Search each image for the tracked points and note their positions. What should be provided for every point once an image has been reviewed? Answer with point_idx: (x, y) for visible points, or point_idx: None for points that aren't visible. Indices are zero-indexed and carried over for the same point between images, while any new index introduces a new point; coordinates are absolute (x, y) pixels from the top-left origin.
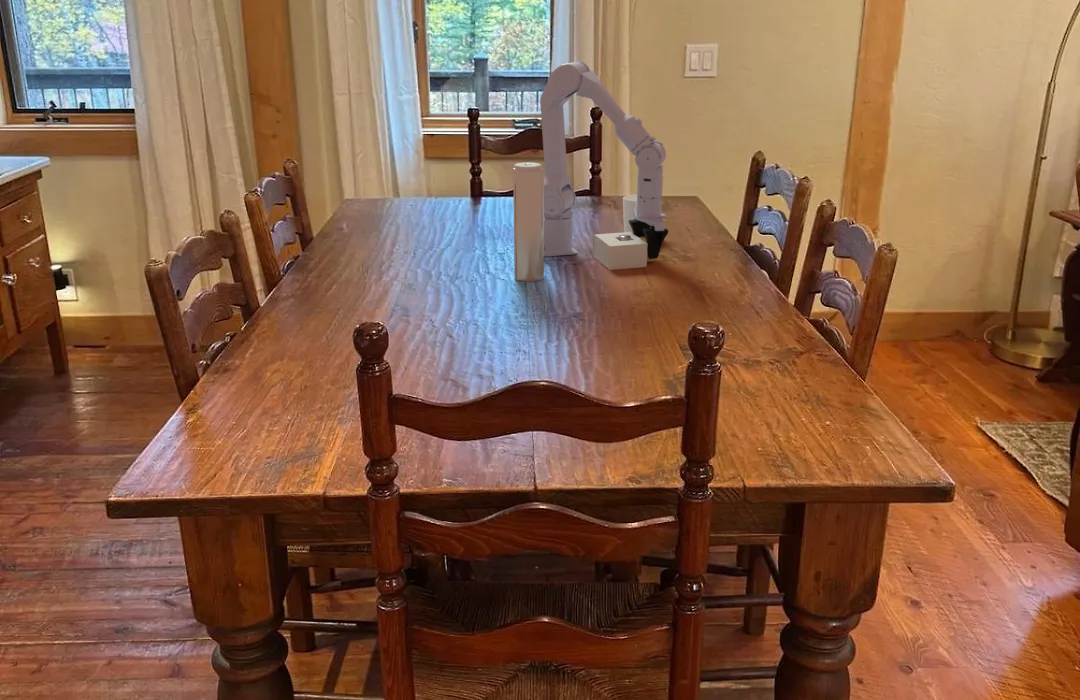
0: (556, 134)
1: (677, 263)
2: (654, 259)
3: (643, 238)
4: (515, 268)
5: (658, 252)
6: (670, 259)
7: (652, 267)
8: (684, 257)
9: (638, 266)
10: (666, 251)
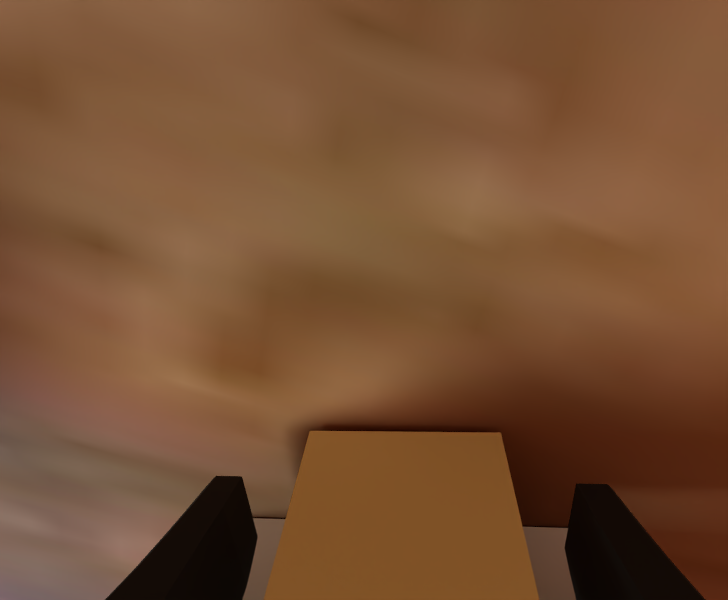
0: None
1: (653, 231)
2: (502, 450)
3: None
4: None
5: (649, 547)
6: (451, 250)
7: (662, 496)
8: (408, 20)
9: None
10: (87, 173)
